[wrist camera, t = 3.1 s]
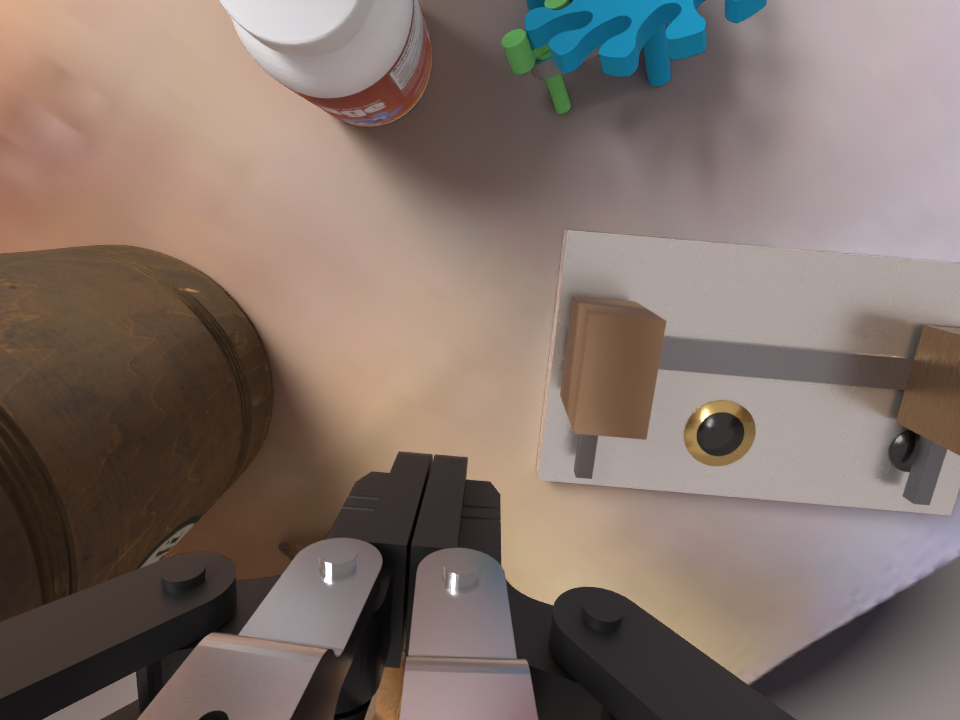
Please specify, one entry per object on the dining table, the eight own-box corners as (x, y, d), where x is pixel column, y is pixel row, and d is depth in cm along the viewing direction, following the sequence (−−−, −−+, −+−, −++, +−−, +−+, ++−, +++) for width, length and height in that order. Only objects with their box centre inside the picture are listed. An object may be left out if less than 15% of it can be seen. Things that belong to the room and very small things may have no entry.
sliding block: (551, 465, 29) (562, 515, 24) (572, 295, 27) (589, 314, 22) (609, 470, 29) (632, 521, 24) (635, 301, 27) (666, 321, 22)
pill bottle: (287, 100, 27) (149, 25, 16) (324, -39, 25) (199, -225, 15) (410, 148, 27) (356, 107, 16) (453, 15, 26) (424, -127, 15)
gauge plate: (536, 467, 31) (547, 535, 25) (563, 229, 28) (585, 234, 21) (929, 501, 31) (1045, 578, 25) (1003, 266, 28) (1161, 283, 21)
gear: (727, -177, 22) (852, -58, 17) (728, -29, 27) (826, 97, 22) (474, -39, 25) (518, 99, 20) (516, 73, 30) (560, 206, 25)
